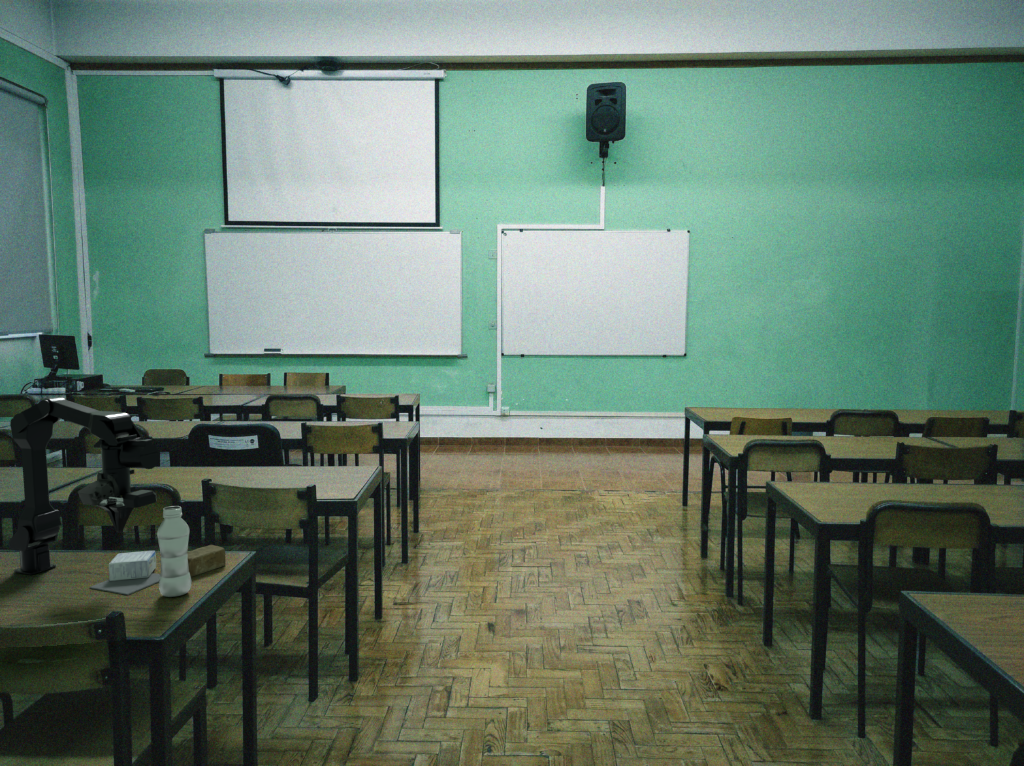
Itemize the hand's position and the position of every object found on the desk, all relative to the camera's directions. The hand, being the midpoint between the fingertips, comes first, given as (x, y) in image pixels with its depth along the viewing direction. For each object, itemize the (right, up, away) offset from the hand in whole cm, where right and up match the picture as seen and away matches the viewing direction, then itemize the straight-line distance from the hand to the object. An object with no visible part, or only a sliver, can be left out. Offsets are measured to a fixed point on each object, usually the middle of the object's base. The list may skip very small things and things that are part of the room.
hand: (119, 531), depth 166 cm
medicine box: (-4, -9, +3) cm, 10 cm away
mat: (+3, -12, 0) cm, 12 cm away
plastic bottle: (+17, -13, -8) cm, 23 cm away
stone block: (+16, -12, +9) cm, 21 cm away
